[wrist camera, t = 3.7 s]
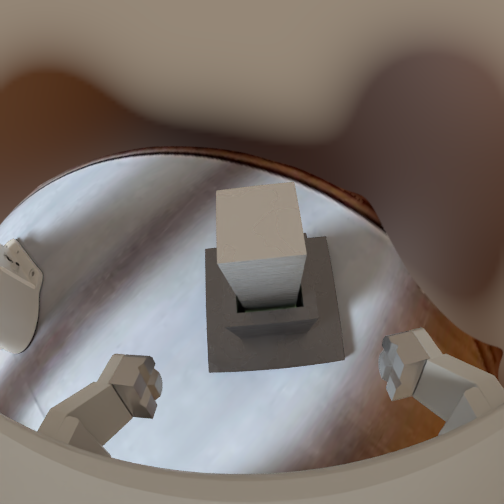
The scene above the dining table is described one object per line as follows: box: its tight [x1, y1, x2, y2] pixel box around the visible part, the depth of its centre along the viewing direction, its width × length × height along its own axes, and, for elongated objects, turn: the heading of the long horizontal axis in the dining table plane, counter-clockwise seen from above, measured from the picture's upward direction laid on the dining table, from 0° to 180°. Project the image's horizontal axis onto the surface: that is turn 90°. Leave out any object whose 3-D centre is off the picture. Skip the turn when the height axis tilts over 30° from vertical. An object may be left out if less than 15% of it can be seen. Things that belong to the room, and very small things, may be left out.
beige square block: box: [216, 182, 307, 312], centre depth 21 cm, size 4×4×17 cm
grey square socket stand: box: [205, 233, 345, 373], centre depth 26 cm, size 14×14×11 cm
